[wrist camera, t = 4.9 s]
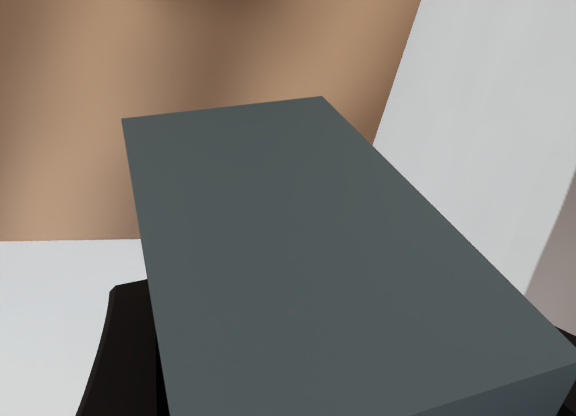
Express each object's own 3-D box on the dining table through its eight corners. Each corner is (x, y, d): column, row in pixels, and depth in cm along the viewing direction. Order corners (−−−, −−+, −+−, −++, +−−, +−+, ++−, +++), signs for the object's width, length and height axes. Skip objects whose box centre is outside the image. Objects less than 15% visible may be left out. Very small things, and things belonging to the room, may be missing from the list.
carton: (160, 338, 13) (222, 698, 7) (121, 118, 9) (183, 487, 4) (313, 302, 14) (465, 590, 8) (328, 95, 10) (598, 355, 5)
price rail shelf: (-54, 221, 17) (-74, 278, 15) (-151, -430, 10) (-221, -518, 7) (331, 219, 23) (360, 260, 21) (460, -189, 16) (527, -196, 13)
